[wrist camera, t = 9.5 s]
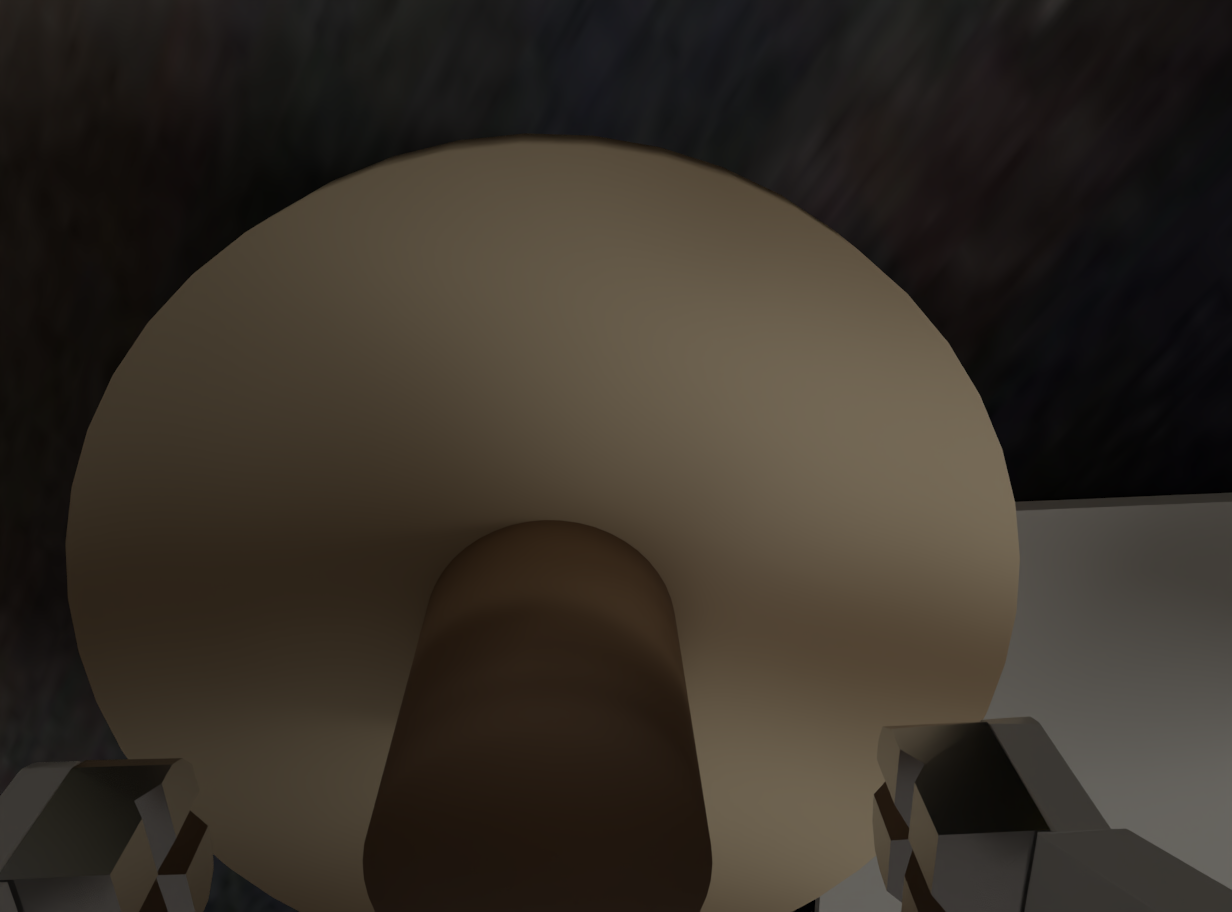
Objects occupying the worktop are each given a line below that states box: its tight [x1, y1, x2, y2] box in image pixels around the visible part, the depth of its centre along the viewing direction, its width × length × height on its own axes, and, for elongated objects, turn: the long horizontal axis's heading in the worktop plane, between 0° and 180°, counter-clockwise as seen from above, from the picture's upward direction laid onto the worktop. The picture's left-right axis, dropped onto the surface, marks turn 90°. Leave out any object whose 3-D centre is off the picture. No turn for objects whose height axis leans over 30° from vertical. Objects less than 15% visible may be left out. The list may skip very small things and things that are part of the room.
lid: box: [65, 134, 1020, 912], centre depth 12 cm, size 12×12×5 cm
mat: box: [815, 493, 1232, 912], centre depth 24 cm, size 16×11×1 cm
